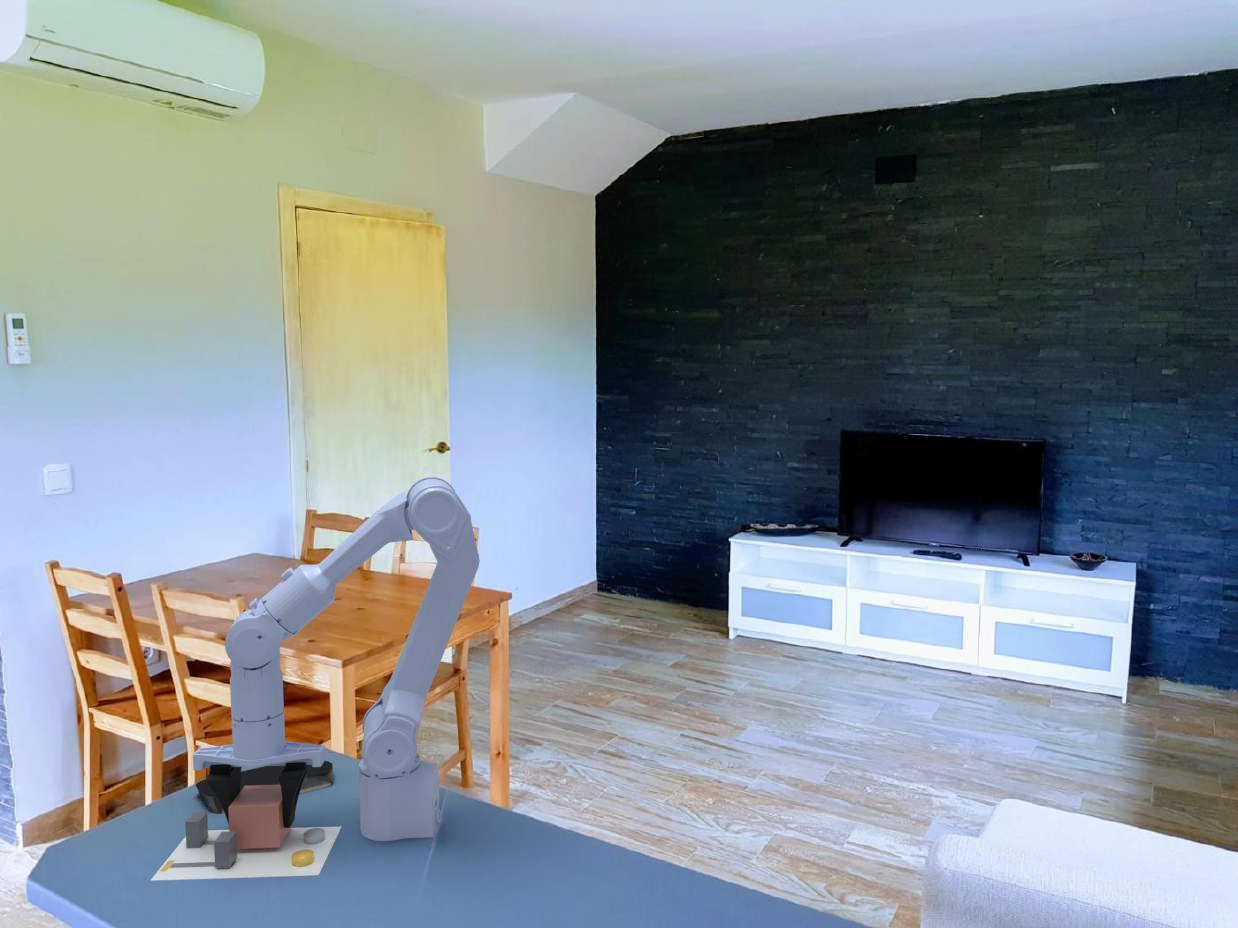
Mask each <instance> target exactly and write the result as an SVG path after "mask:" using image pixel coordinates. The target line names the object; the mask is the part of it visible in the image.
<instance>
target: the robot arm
mask: <svg viewBox="0 0 1238 928" xmlns="http://www.w3.org/2000/svg"><path fill="white" fill-rule="evenodd" d="M455 490H456V489H454V487H453V486H452V485H451V484H450V483H449V482H448V481H447V480H446V479H443V478H440V477H436V476H427V477H423V478H421V479H418V480H417V481H415V482H414V483H413V484H412V485H411V486H410V488H409V490H407V491H408V492H407V493H406V491H402V492H401V493H399V494H397V495H395V496H394V497H393V498H391V500H389V501H388V502H386V503H385V504H384V505H382V506H381V507H380V508H379V509H377V510H376V511H375V512H374V513H373V514H372V515H371V516H370V517H368V519H366V520H365V521H364V522H363V523H362V524H361V525H360V526H359V527H357V528H356V530H354V531H353V532H351V534H350V535H349V536H347V538H346V539H345V540H343V541H342V542H341V543H340V544H339V545H338V546H337V547H336V548H334V550H333V551H331V552H330V553H329V554H328V555H327V556H326V557H325V558H324V559H323V560H322V561H320V562H319V563H318V564H317V563H316V564H300V565H299V566H298V567H297V568H295V569H293V568H292V567H288V569H286V570H285V571H284V572H282V574H281V579H282V580H281V581H280V582H279V583H277V585H276V586H274V587H273V588H272V589H271V590H270V591H268V592H266V593H267V594H265V595H264V596H263V597H261V598H260V599H259V598H257V597H256V598H254V599H253V600H252V601H250V603H249V604H248V606H249V608H250V609H249V608H248V609H247V610H245V611H243V612H241V613H240V614H239V615H238V616H237V617H236V618H235V620H234V621H233V623H232V625H231V626H230V628H229V630H228V632H227V634H226V636H225V637H226V638H225V641H224V642H225V643H224V648H225V649H224V650H225V652H226V655H227V657H228V658H229V660H230V664H229V669H230V675H231V676H230V677H229V691H230V711H231V714H230V716H231V732H232V734H231V735H232V744H231V743H230V744H225V745H219V746H212V747H211V746H210V747H198V749H196V751H195V752H194V753H193V754H192V767H193V768H192V769H193V771H203V770H204V769H209V774H208V775H207V776H206V778H205V779H206V780H207V785H208V786H209V787H210V788H211V790H212V791H213V792H214V794H215V795H216V797H217V798H218V800H219V802H220V804H221V806H222V808H223V810H224V813H223V814H224V815H225V817H226V822H227V825H228V826H229V810H228V807H229V806H230V805H231V803H232V802H233V801H234V799H235V798H236V797H237V795H238V794H239V793H240V782H241V771H242V767H243V768H246V767H247V768H249V767H250V768H252V767H256V768H257V767H264V766H285V769H283V771H282V772H281V774H280V775H279V782H280V786H281V792H282V799H283V824H284V828H290V827H291V825H292V823H293V822H294V821H295V820H296V819H295V818H296V810H297V805H298V800H299V796H300V794H299V793H300V790H301V787H302V784H303V781H304V779H305V776H306V774H307V771H308V769H309V767H310V765H312V767H321V766H322V764H323V762H324V761H326V757H325V756H326V755H325V752H326V751H325V744H313V743H312V744H311V743H304V742H303V743H302V742H295V741H286V733H285V731H286V730H285V726H286V725H285V710H284V709H285V707H284V683H283V682H284V680H283V671H282V669H281V650H280V648H281V644H282V642H283V641H284V640H286V639H291V638H293V637H295V636H296V634H298V633H299V632H301V630H303V628H304V627H306V626H307V625H308V624H309V623H310V622H311V621H313V620H314V619H315V618H316V617H318V615H320V614H321V613H322V612H324V610H326V609H327V608H329V606H330V605H331V604H332V603H333V602H335V601H336V600H335V599H336V588H337V585H338V584H339V583H340V582H342V580H344V579H345V578H347V577H348V576H349V575H350V574H351V573H353V572H354V571H355V570H356V569H358V568H359V567H360V566H362V565H363V564H364V563H365V562H367V561H368V559H370V558H371V557H373V556H374V555H375V554H376V553H377V552H379V551H380V550H381V549H382V548H384V547H386V545H388V544H389V543H398V542H407V541H409V542H410V541H413V540H414V537H413V531H415V532H416V533H417V534H418V535H419V536H420V537H421V538H422V540H424V541H425V542H426V543H428V544H429V547H430V549H431V551H432V554H433V555H434V557H435V560H436V561H437V562H436V565H435V568H434V570H433V573H432V575H431V578H430V580H429V582H428V586H427V587H426V591H425V593H424V595H423V597H422V600H421V602H420V605H419V607H418V610H417V613H416V615H415V617H414V620H413V622H412V625H411V627H410V629H409V632H408V635H407V638H406V639H405V642H404V645H403V647H402V650H401V652H400V655H399V658H398V659H397V662H396V664H395V668H394V669H393V672H392V674H391V677H390V679H389V681H388V682H387V684H386V685H385V686H384V687H383V690H382V692H381V694H380V697H379V698H378V700H377V701H376V702H375V703H374V704H373V705H371V707H369V709H368V710H366V712H365V714H364V716H363V719H362V720H363V721H362V727H361V728H362V731H363V733H362V734H363V741H362V747H361V759H360V761H359V763H358V777H359V778H358V780H359V781H358V783H359V785H358V786H359V816H360V817H359V821H360V822H359V825H360V833H361V835H362V836H363V837H365V838H366V839H368V840H371V841H376V842H393V841H398V840H404V839H421V838H425V839H426V838H432V841H431V844H430V849H433V847H434V844H435V840H436V835H437V833H438V829H439V825H440V821H441V809H440V775H439V773H440V772H439V765H438V763H437V762H436V763H435V762H429V761H427V762H426V761H423V760H421V757H420V754H419V753H418V745H417V743H418V742H417V734H418V730H419V728H420V725H421V723H422V717H423V714H424V713H423V712H424V707H425V702H426V699H427V697H428V694H429V691H430V688H431V686H432V684H433V682H434V679H435V676H436V674H437V671H438V669H439V666H440V665H441V662H442V659H443V656H444V655H445V652H446V650H447V646H448V644H449V641H450V639H451V638H452V637H451V636H452V635H453V633H454V629H455V627H456V625H457V621H458V620H459V617H460V614H461V611H462V610H463V607H464V604H465V601H466V599H467V597H468V594H469V592H470V591H471V590H470V589H471V587H472V585H473V582H474V579H475V577H476V574H477V572H478V569H479V567H480V566H479V565H480V562H481V560H480V555H479V550H478V546H477V545H478V544H477V541H476V537H475V536H476V535H475V532H474V529H473V528H474V527H473V524H472V517H471V513H470V512H469V510H468V508H467V507H466V505H465V504H464V502H463V500H462V499H461V497H460V496H459V495H458V493H457V492H456V491H455ZM294 823H295V822H294Z"/></svg>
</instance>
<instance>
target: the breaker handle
mask: <svg viewBox="0 0 1238 928" xmlns="http://www.w3.org/2000/svg"><path fill="white" fill-rule="evenodd" d="M214 854H215V868H230V867H231V865H232V864H233V862H234V861H235V859H236V858H237V838H236V831H230V832H221V834H220V835H219V836H218V838H217V839H216V840H215V842H214Z"/></svg>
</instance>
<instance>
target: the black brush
mask: <svg viewBox="0 0 1238 928" xmlns="http://www.w3.org/2000/svg"><path fill="white" fill-rule="evenodd" d="M333 766H334V765H333V763H332V762H331V761H327V760H325V761H324V762H323V764H322V766H321V767H312V765H310V767H309V769H308V771H307V774H306V776H305V779H304V781H303V784H302V787H301V790H300V793H299V795H303V794H306V793H310V792H315V791H318V790H322V789H326V788H327V787H330V786H332V785H334V784H335V783H334V781H335V780H334V779H335V778H334V772H333V769H334V767H333ZM283 769H285V766H258V767H256V768H252V769H251V768H250V769H247V770H241V782H240V791H241V790H242V789H243V788H244V786H254V785H280V782H279V775H280V774H281V772H282V771H283ZM194 786H195V788H196V789H197V791H198V795H199V798H200V800H201V801H203V802H204V803H205V804H206V807H207V809H208V812H211V813H214V814H219V815H221V814H225V813H224V810H223V808H222V806H221V804H220V802H219V800H218V798H217V797H216V795H215V794H214V792H213V791H212V790H211V788H210V787H209V786H208V785H207V780H206V778H204V779H202V780H200V781H197V782H196V783H195V785H194Z"/></svg>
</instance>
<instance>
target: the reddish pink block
mask: <svg viewBox="0 0 1238 928" xmlns="http://www.w3.org/2000/svg"><path fill="white" fill-rule="evenodd" d="M228 810H229V825H228V828H229V829H228V830H229V832H230V831H236V838H237V849H249V848H279V847H281V845H282V843H283V841H284V840H285V838H286V836H287V835H288V833H289V831H290V829H291V828H293V826H294V823H295V822H293V823H292V825H291V827H290V828H284V824H283V799H282V792H281V786H280V785H254V786H244V788H243V789H242V790H241V791H240V793H239V794H238V795H237V797H236V798H235V799H234V801H233V802H232V803H231V805H230V806H229V807H228Z"/></svg>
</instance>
